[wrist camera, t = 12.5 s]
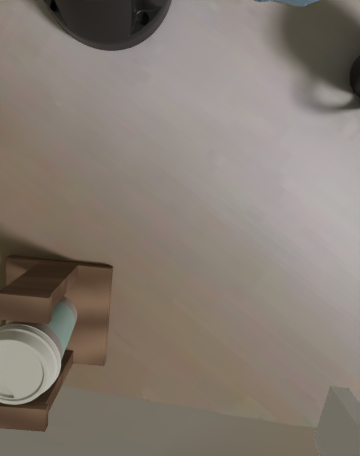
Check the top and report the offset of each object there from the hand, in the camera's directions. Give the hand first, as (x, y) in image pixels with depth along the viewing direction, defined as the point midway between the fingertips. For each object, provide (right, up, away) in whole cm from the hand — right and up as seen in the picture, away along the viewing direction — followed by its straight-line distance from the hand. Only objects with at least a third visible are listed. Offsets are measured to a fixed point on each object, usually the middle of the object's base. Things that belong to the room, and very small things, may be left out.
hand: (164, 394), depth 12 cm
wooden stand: (-17, -5, +30) cm, 35 cm away
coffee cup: (-17, -5, +30) cm, 34 cm away
